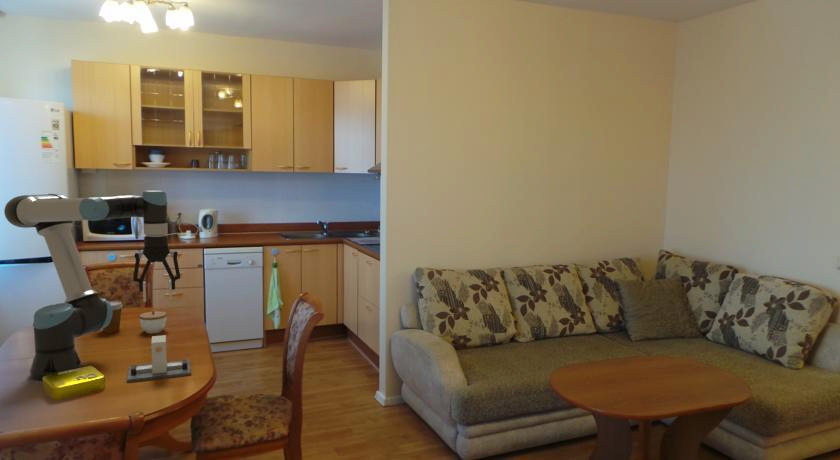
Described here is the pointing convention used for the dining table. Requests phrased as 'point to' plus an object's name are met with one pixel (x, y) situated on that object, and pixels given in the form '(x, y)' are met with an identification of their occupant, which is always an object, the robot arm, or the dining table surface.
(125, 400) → the dining table surface
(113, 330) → the disposable coffee cup
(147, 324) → the lidded jar
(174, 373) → the mounting plate
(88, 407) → the dining table surface
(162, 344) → the block
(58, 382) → the element tile
